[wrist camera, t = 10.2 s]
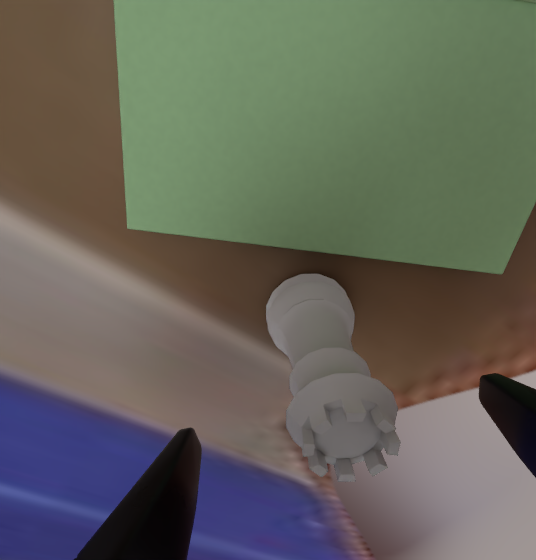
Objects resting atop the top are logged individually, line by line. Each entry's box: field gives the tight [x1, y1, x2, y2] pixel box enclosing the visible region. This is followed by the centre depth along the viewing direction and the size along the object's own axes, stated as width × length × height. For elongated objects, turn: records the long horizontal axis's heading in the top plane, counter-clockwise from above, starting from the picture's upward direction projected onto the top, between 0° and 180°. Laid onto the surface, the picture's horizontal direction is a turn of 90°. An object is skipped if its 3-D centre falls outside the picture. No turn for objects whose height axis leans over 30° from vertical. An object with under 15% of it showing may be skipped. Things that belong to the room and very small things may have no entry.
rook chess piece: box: [266, 274, 400, 482], centre depth 11 cm, size 4×4×8 cm
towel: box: [114, 0, 536, 274], centre depth 11 cm, size 18×12×1 cm, turn 83°
